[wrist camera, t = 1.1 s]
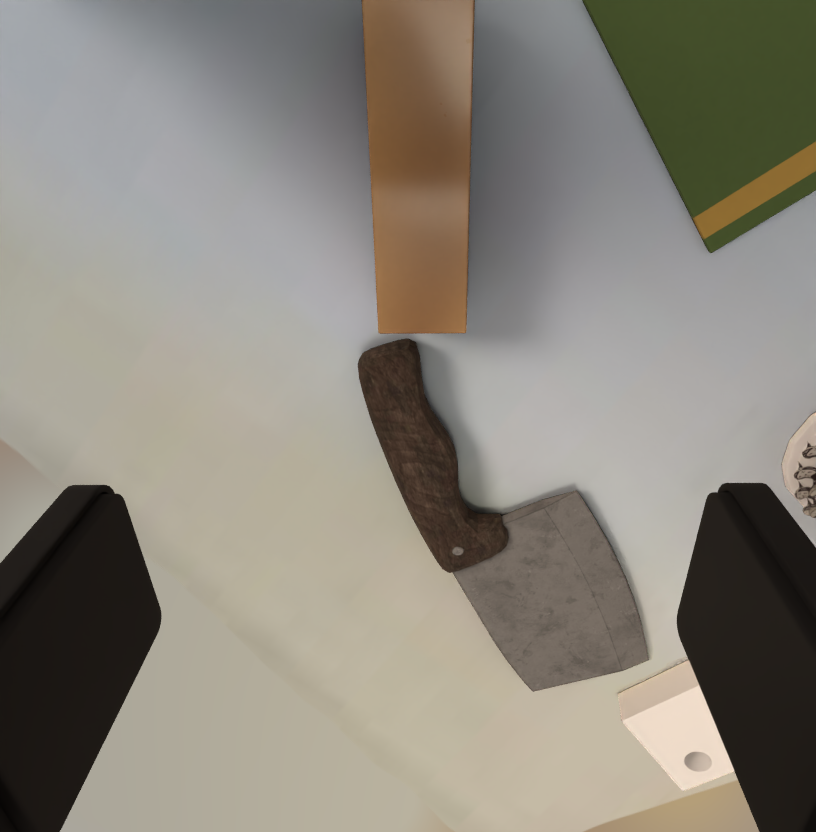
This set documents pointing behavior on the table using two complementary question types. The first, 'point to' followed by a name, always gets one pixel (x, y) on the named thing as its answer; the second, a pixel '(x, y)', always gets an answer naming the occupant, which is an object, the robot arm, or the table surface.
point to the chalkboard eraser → (420, 159)
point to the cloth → (722, 100)
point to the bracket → (676, 726)
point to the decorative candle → (802, 466)
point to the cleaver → (506, 544)
